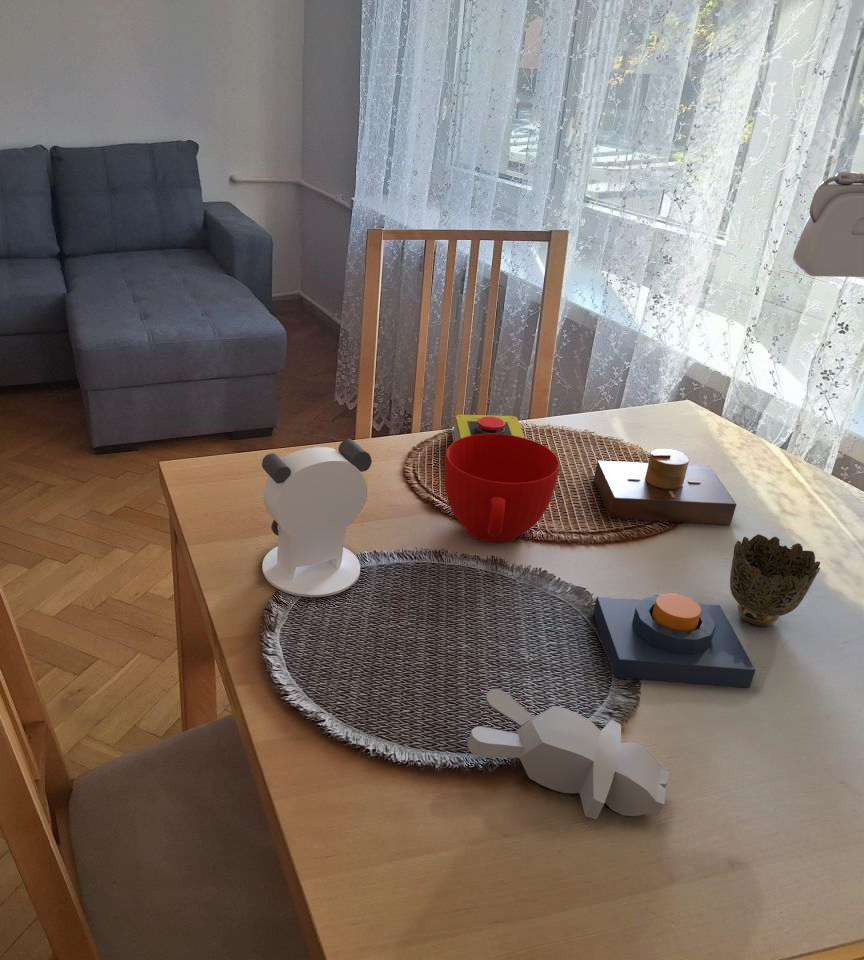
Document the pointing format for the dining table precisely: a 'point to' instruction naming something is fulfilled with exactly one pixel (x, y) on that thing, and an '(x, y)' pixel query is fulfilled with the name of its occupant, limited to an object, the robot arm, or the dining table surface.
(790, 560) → the cup
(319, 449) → the panda figurine
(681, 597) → the light button
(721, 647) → the switch box
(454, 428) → the emergency button
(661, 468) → the dimmer knob
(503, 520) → the ceramic cup
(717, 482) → the dimmer panel
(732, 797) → the dining table surface
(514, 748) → the bunny figurine
